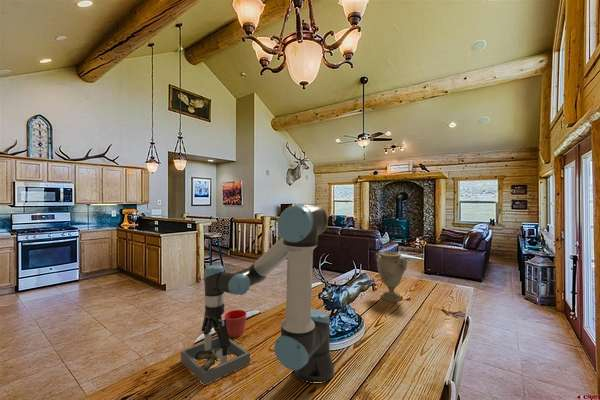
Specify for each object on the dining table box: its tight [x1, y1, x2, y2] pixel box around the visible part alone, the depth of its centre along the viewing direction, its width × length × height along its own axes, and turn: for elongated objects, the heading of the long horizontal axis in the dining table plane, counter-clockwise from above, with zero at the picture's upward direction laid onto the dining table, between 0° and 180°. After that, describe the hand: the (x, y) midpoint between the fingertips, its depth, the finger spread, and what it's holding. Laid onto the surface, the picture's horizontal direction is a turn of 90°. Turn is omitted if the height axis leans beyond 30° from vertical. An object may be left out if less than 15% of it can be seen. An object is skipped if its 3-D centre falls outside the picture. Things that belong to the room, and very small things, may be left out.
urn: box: [375, 251, 408, 303], centre depth 187 cm, size 24×18×30 cm
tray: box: [180, 336, 251, 385], centre depth 115 cm, size 21×19×4 cm
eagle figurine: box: [194, 347, 220, 371], centre depth 113 cm, size 8×7×9 cm
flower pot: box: [224, 309, 247, 338], centre depth 140 cm, size 11×11×10 cm
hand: (215, 356), depth 115 cm, fingers open, 13 cm apart
